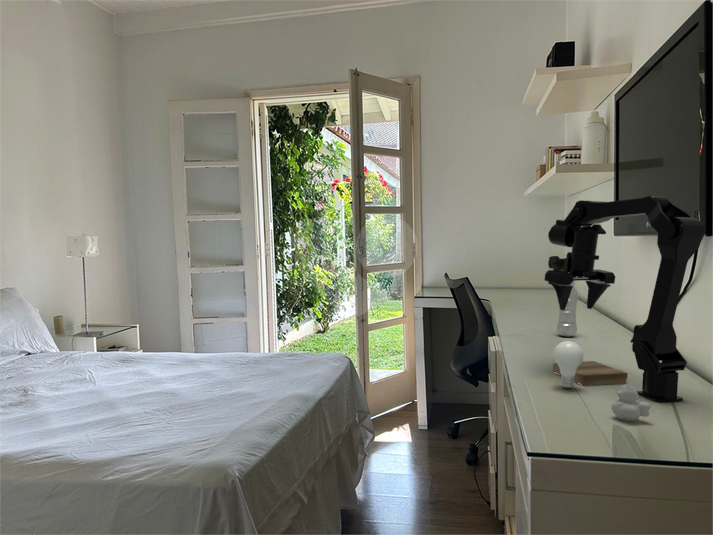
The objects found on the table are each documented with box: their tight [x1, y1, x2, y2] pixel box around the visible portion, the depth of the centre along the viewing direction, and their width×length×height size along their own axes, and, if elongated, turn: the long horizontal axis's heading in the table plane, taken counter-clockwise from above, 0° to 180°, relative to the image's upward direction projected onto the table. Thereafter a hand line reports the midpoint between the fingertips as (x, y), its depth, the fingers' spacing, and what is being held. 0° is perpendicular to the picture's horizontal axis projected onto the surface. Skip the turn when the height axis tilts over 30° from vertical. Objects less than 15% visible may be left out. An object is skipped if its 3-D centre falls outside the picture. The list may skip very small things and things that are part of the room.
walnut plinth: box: [552, 360, 628, 386], centre depth 132 cm, size 12×12×2 cm
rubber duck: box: [611, 378, 651, 422], centre depth 102 cm, size 5×7×8 cm
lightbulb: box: [553, 340, 585, 389], centre depth 122 cm, size 6×6×11 cm
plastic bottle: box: [556, 281, 579, 338], centre depth 185 cm, size 6×7×20 cm
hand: (575, 309), depth 138 cm, fingers open, 9 cm apart
